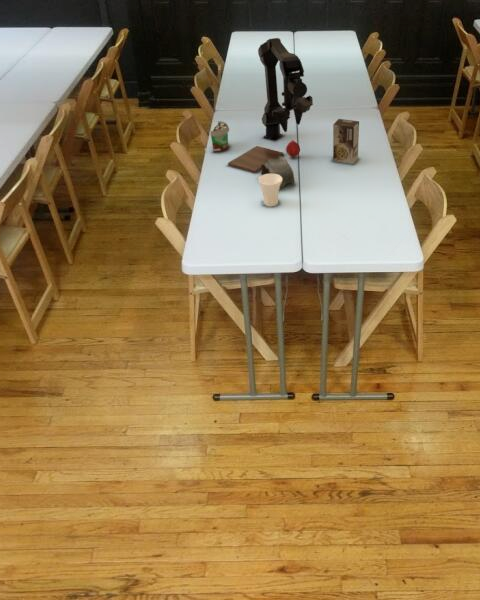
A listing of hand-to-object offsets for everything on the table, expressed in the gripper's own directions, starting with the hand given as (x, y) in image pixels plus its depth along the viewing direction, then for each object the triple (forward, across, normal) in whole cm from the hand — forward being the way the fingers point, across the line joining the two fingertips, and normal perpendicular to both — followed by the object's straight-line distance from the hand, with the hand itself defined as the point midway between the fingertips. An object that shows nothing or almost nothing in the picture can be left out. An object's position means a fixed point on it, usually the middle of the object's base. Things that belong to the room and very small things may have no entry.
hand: (292, 128), depth 256 cm
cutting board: (+13, -10, +12) cm, 20 cm away
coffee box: (+13, +9, -20) cm, 26 cm away
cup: (+13, -37, -16) cm, 42 cm away
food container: (+13, -7, +32) cm, 35 cm away
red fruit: (+13, 0, 0) cm, 13 cm away
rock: (+13, -22, -7) cm, 26 cm away
